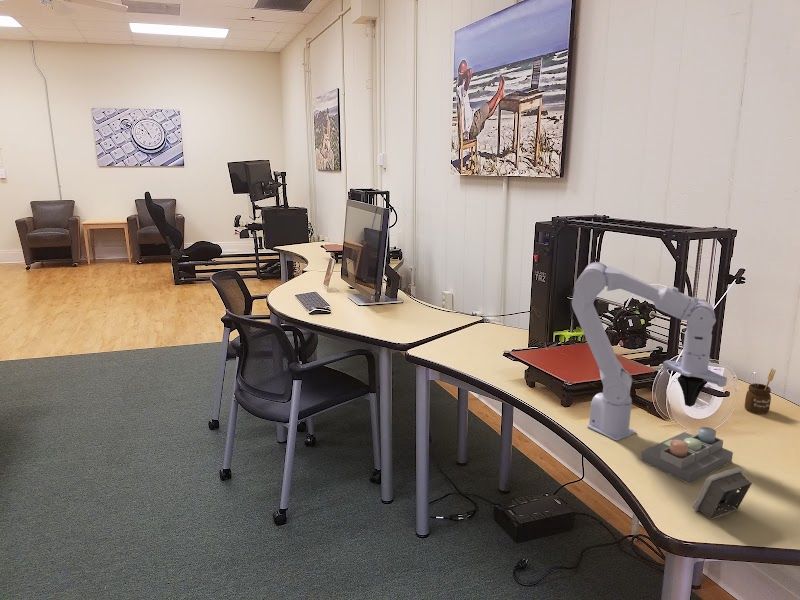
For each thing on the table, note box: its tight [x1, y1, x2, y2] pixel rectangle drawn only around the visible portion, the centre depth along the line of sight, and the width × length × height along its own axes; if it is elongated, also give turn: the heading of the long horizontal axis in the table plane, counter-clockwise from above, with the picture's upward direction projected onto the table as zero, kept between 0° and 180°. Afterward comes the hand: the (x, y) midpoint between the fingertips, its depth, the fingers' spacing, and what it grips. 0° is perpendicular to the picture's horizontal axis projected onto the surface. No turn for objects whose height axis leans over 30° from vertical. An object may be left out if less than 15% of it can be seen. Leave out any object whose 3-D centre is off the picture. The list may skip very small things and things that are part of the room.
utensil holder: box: [744, 368, 776, 415], centre depth 161 cm, size 6×6×12 cm
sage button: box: [684, 438, 702, 452], centre depth 135 cm, size 4×4×2 cm
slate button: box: [697, 426, 717, 443], centre depth 138 cm, size 4×4×2 cm
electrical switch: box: [692, 466, 753, 520], centre depth 117 cm, size 9×5×9 cm, turn 113°
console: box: [640, 431, 734, 485], centre depth 136 cm, size 12×17×4 cm
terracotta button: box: [669, 440, 688, 457], centre depth 132 cm, size 4×4×2 cm
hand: (689, 404), depth 142 cm, fingers closed
